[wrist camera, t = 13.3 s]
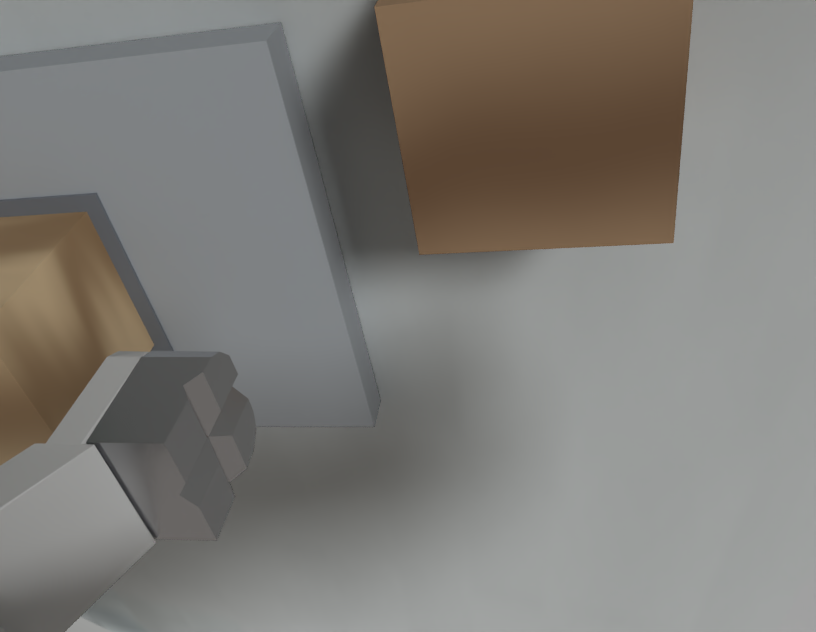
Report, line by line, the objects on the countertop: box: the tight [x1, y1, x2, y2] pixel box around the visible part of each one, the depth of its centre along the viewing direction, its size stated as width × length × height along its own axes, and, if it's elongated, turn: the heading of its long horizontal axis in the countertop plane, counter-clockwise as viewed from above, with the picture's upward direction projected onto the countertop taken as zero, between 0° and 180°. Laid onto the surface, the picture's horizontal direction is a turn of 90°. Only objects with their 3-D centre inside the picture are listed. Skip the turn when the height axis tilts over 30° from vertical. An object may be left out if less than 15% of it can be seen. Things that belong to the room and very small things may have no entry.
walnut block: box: [374, 0, 693, 255], centre depth 15 cm, size 5×5×5 cm
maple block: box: [0, 212, 154, 465], centre depth 21 cm, size 5×5×5 cm
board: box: [0, 23, 381, 427], centre depth 23 cm, size 13×18×1 cm
